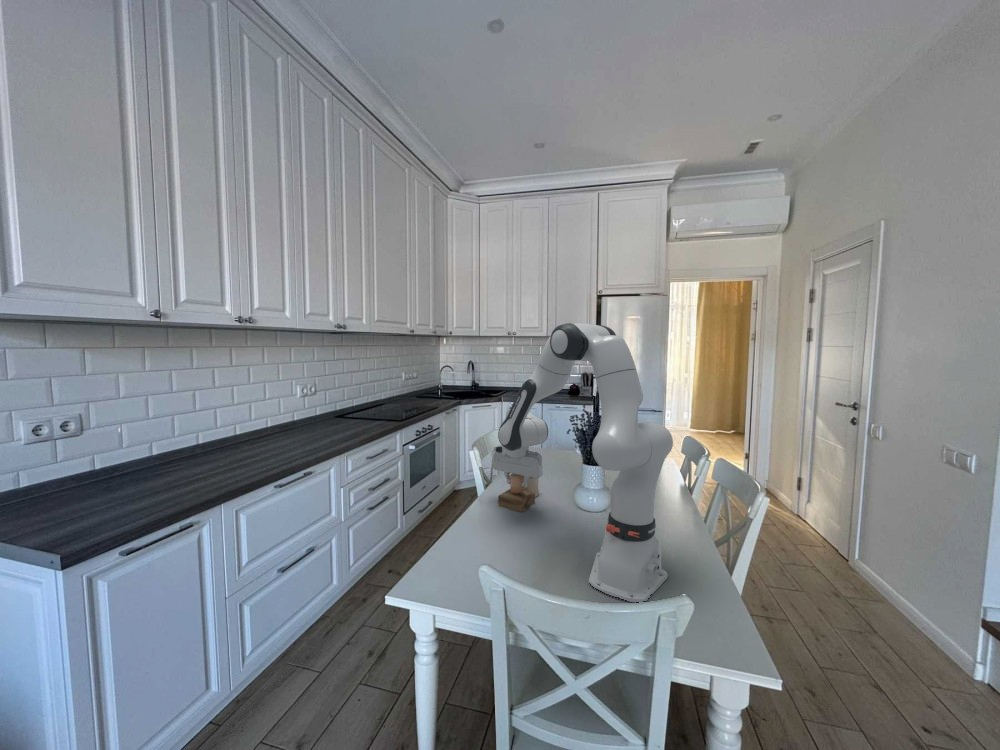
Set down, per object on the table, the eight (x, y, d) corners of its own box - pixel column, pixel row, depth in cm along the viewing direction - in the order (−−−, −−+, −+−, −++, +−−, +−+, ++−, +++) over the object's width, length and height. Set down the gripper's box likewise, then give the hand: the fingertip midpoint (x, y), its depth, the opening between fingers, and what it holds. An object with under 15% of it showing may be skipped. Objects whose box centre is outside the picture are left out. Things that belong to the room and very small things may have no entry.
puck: (519, 494, 144) (519, 478, 144) (507, 491, 147) (507, 475, 146) (526, 489, 148) (526, 474, 148) (514, 487, 151) (514, 472, 151)
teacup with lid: (542, 492, 160) (542, 464, 159) (534, 500, 152) (534, 470, 151) (515, 487, 166) (515, 460, 165) (506, 495, 157) (506, 466, 156)
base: (521, 512, 141) (521, 500, 141) (498, 506, 147) (498, 495, 146) (534, 503, 150) (534, 492, 149) (512, 497, 155) (512, 486, 155)
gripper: (545, 450, 143) (545, 487, 144) (499, 443, 154) (499, 477, 156) (537, 455, 138) (537, 493, 139) (489, 446, 149) (490, 482, 150)
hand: (516, 485), depth 147 cm, fingers closed on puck, 5 cm apart
